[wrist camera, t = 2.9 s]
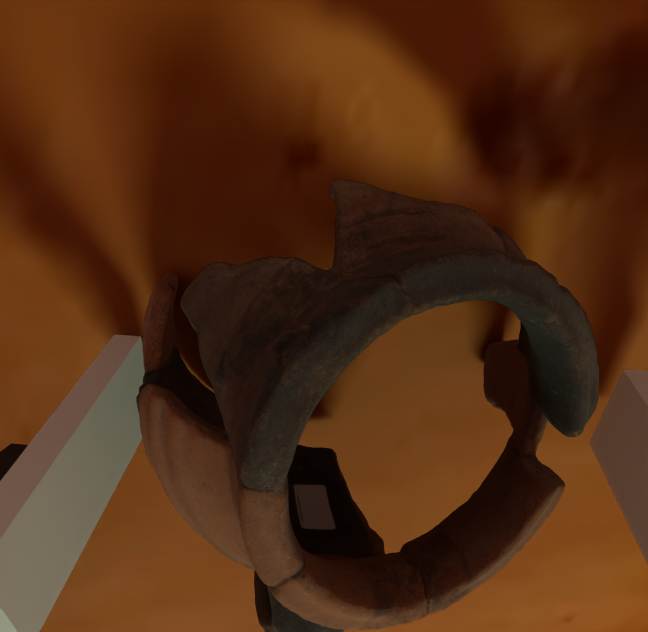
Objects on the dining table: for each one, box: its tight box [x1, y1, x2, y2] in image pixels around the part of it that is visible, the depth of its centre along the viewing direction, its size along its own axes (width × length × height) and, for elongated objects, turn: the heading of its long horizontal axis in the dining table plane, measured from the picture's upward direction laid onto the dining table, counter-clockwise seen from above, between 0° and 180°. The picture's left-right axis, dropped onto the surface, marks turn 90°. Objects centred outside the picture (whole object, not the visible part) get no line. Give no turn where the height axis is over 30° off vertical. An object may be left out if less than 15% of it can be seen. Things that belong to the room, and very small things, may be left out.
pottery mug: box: [136, 179, 600, 632], centre depth 12 cm, size 12×10×8 cm
